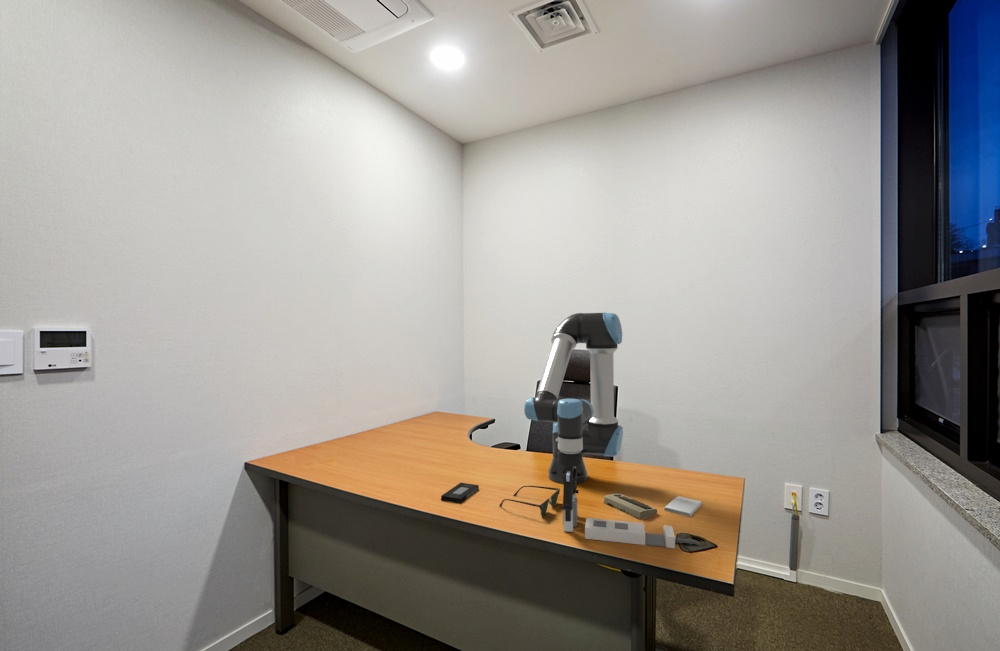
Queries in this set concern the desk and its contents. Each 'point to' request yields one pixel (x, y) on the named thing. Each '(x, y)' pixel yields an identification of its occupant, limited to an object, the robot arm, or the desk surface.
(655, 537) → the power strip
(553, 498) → the sunglasses
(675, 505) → the external hard drive
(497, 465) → the desk surface
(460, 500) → the vhs tape
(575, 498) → the charger
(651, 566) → the desk surface
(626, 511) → the computer
